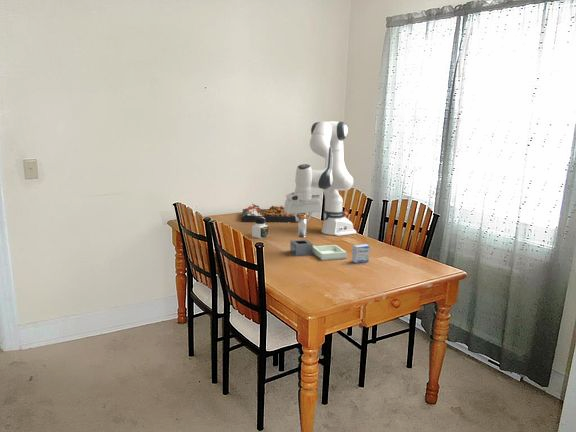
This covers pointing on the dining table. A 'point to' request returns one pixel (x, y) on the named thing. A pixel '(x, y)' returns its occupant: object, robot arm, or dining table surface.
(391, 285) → the dining table surface
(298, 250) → the block
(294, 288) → the dining table surface
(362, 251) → the medicine box
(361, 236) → the dining table surface
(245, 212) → the food platter
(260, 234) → the medicine bottle
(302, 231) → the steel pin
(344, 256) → the tray
